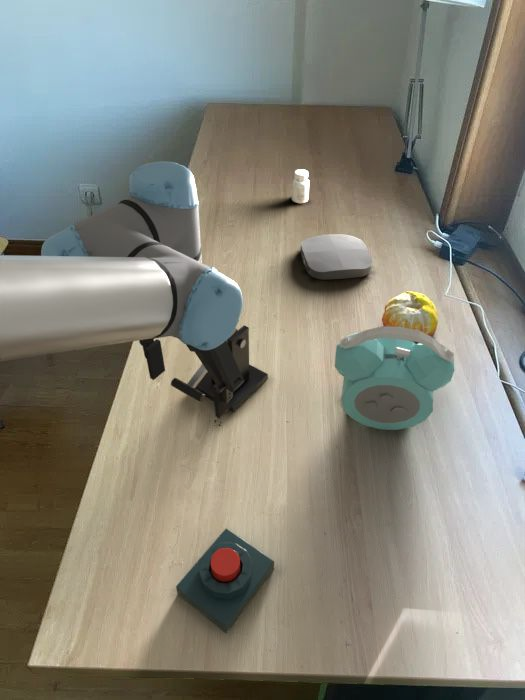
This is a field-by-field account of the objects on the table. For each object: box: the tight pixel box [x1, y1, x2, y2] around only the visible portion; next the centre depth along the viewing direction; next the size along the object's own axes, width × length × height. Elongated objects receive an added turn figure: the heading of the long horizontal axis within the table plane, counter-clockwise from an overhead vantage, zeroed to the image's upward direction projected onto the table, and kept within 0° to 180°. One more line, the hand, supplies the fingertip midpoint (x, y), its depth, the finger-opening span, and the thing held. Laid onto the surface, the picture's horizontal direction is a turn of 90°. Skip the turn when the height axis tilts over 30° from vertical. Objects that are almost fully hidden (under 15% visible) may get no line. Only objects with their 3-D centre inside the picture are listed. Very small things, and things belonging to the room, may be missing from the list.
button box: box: [175, 527, 275, 634], centre depth 71 cm, size 10×8×4 cm
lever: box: [170, 327, 239, 403], centre depth 90 cm, size 13×6×2 cm, turn 144°
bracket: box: [195, 324, 269, 413], centre depth 94 cm, size 10×9×13 cm
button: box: [211, 548, 240, 582], centre depth 70 cm, size 4×4×2 cm
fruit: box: [381, 291, 439, 344], centre depth 109 cm, size 11×10×8 cm
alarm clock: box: [334, 325, 455, 431], centre depth 87 cm, size 17×10×20 cm, turn 80°
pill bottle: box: [291, 168, 310, 204], centre depth 147 cm, size 4×4×8 cm
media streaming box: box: [300, 233, 373, 280], centre depth 127 cm, size 15×15×3 cm
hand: (189, 392), depth 88 cm, fingers open, 13 cm apart
